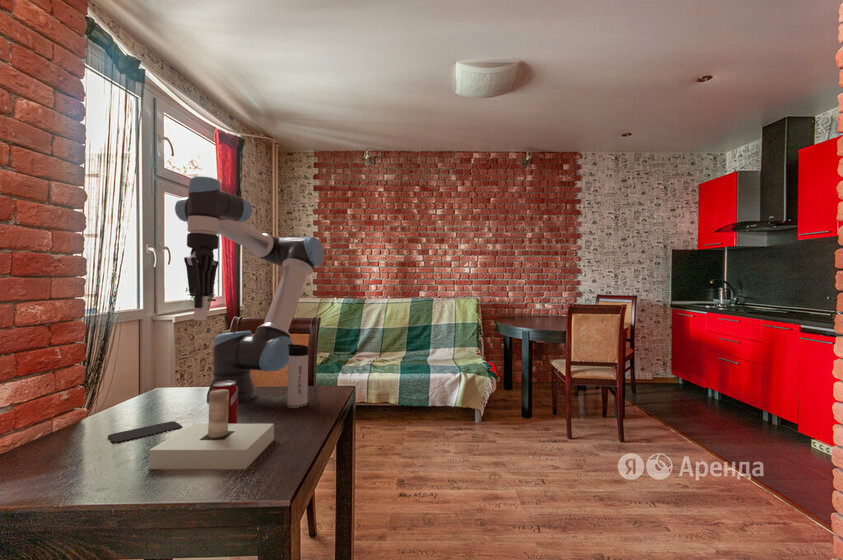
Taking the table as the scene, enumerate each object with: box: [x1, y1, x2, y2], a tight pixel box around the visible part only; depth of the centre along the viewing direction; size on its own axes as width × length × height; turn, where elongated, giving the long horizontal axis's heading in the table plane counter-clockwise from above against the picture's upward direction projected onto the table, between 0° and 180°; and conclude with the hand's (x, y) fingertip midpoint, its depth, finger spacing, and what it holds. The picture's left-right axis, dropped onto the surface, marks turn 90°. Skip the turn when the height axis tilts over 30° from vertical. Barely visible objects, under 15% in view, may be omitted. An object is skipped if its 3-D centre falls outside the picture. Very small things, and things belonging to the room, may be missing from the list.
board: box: [148, 423, 275, 470], centre depth 87 cm, size 16×20×4 cm
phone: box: [107, 420, 183, 444], centre depth 99 cm, size 7×1×15 cm
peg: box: [207, 389, 229, 440], centre depth 87 cm, size 4×4×14 cm
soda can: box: [210, 381, 239, 424], centre depth 104 cm, size 7×7×12 cm
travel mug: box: [286, 343, 309, 409], centre depth 124 cm, size 6×7×20 cm
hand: (200, 320), depth 103 cm, fingers closed
